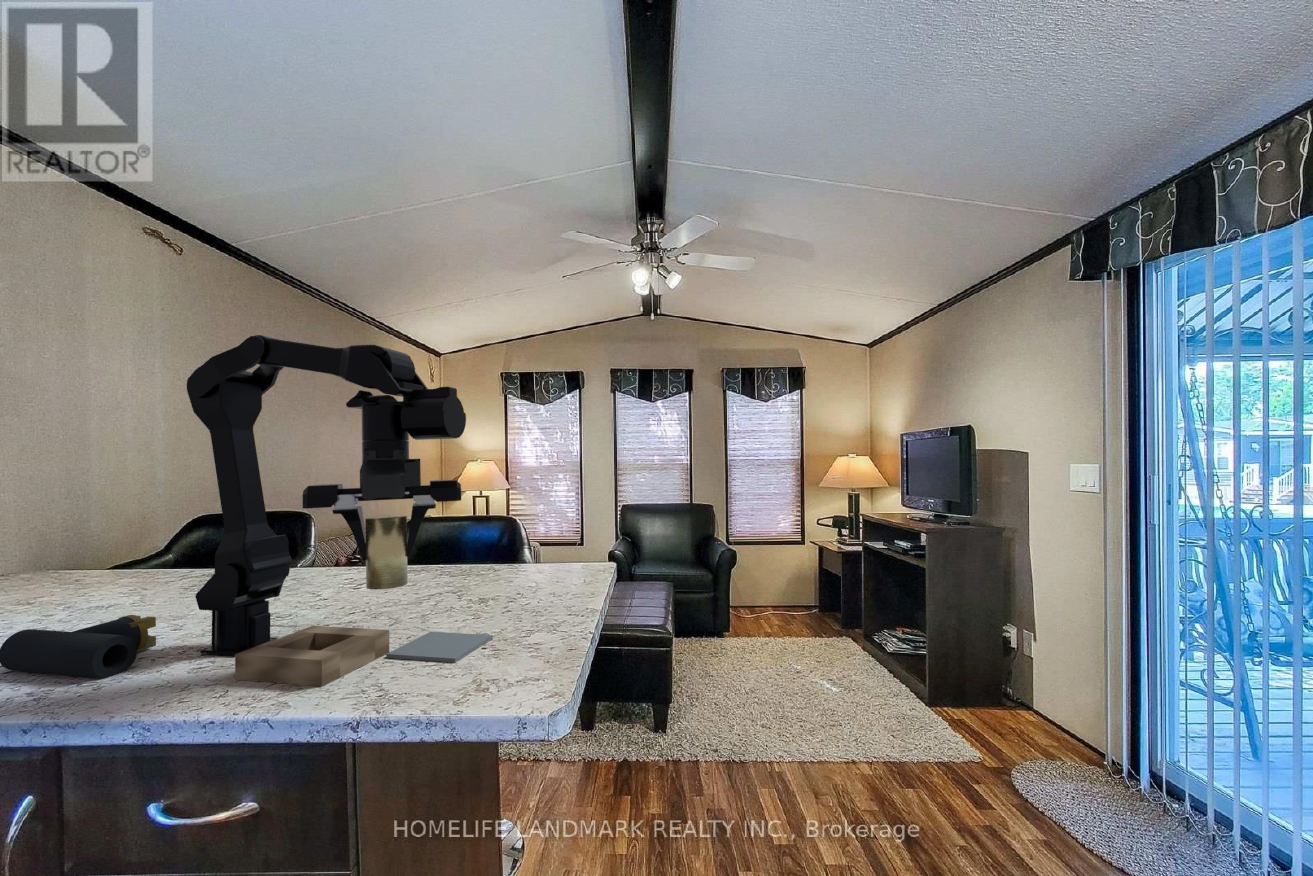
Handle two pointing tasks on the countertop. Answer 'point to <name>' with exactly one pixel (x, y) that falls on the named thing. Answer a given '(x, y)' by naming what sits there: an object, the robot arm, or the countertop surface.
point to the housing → (312, 655)
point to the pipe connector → (80, 648)
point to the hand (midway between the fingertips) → (387, 558)
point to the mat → (440, 647)
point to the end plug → (386, 552)
